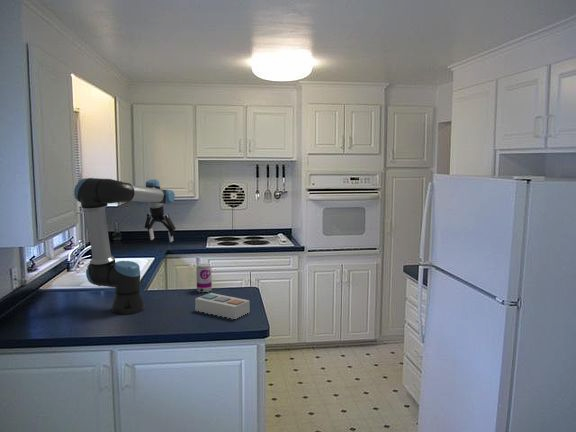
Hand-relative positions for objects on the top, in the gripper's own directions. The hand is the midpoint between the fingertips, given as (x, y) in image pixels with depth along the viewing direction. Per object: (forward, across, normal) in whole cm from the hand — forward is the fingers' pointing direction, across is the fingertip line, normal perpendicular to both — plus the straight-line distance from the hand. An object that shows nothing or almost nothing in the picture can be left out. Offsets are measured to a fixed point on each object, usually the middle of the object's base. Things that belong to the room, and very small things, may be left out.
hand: (161, 240), depth 285 cm
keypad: (+16, -60, +39) cm, 73 cm away
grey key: (+14, -60, +38) cm, 72 cm away
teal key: (+14, -52, +37) cm, 65 cm away
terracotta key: (+13, -68, +39) cm, 79 cm away
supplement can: (+23, -33, +12) cm, 42 cm away
